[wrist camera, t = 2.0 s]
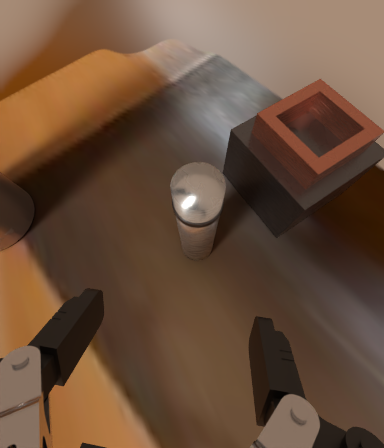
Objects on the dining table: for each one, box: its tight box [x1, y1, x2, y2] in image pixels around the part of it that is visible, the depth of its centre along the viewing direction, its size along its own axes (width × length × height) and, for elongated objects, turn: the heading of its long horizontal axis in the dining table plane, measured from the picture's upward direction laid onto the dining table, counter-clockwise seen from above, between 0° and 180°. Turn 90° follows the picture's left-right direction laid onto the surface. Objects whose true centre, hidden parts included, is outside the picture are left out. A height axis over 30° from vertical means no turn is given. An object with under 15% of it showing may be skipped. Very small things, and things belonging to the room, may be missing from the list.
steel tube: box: [171, 162, 226, 261], centre depth 22 cm, size 4×4×14 cm
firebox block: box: [223, 79, 384, 238], centre depth 27 cm, size 11×11×10 cm
